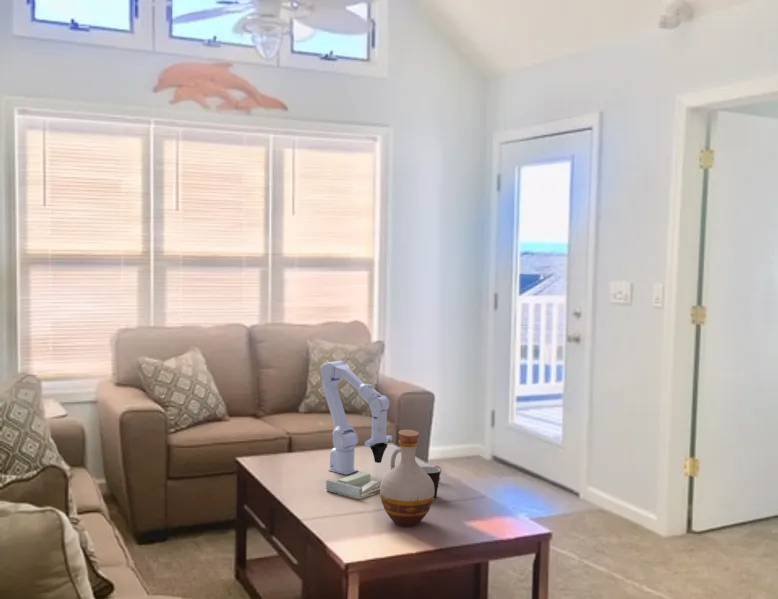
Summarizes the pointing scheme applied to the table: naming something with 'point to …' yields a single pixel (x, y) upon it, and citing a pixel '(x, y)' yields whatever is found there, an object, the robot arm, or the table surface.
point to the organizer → (348, 489)
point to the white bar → (369, 486)
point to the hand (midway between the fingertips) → (377, 462)
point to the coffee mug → (433, 476)
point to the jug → (407, 485)
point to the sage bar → (356, 479)
